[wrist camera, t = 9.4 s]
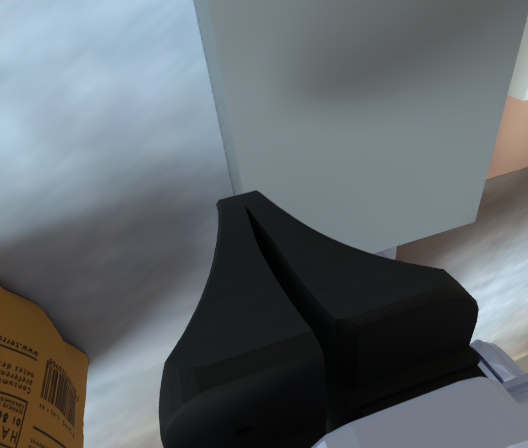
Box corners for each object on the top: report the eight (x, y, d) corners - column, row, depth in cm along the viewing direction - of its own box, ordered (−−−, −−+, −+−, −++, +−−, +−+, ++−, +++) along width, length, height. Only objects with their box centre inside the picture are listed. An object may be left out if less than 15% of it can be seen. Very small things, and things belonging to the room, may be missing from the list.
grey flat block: (435, 190, 28) (474, 221, 24) (244, 245, 25) (261, 288, 22) (519, -317, 14) (630, -389, 11) (133, -288, 12) (137, -369, 9)
